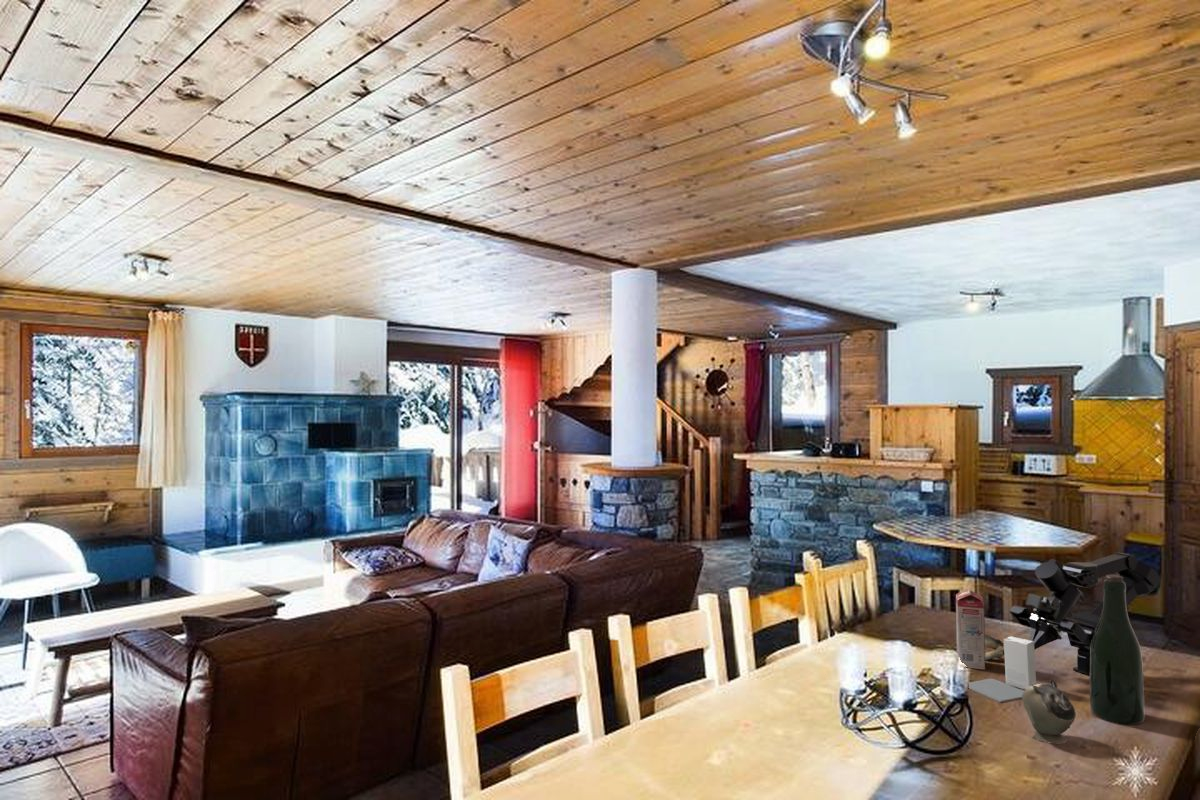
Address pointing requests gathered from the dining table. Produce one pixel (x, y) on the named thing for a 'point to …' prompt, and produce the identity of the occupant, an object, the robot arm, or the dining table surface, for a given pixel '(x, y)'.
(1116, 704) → the beer bottle
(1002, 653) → the eagle figurine
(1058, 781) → the dining table surface
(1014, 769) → the dining table surface
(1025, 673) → the skincare box
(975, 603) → the juice carton
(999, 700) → the mat
